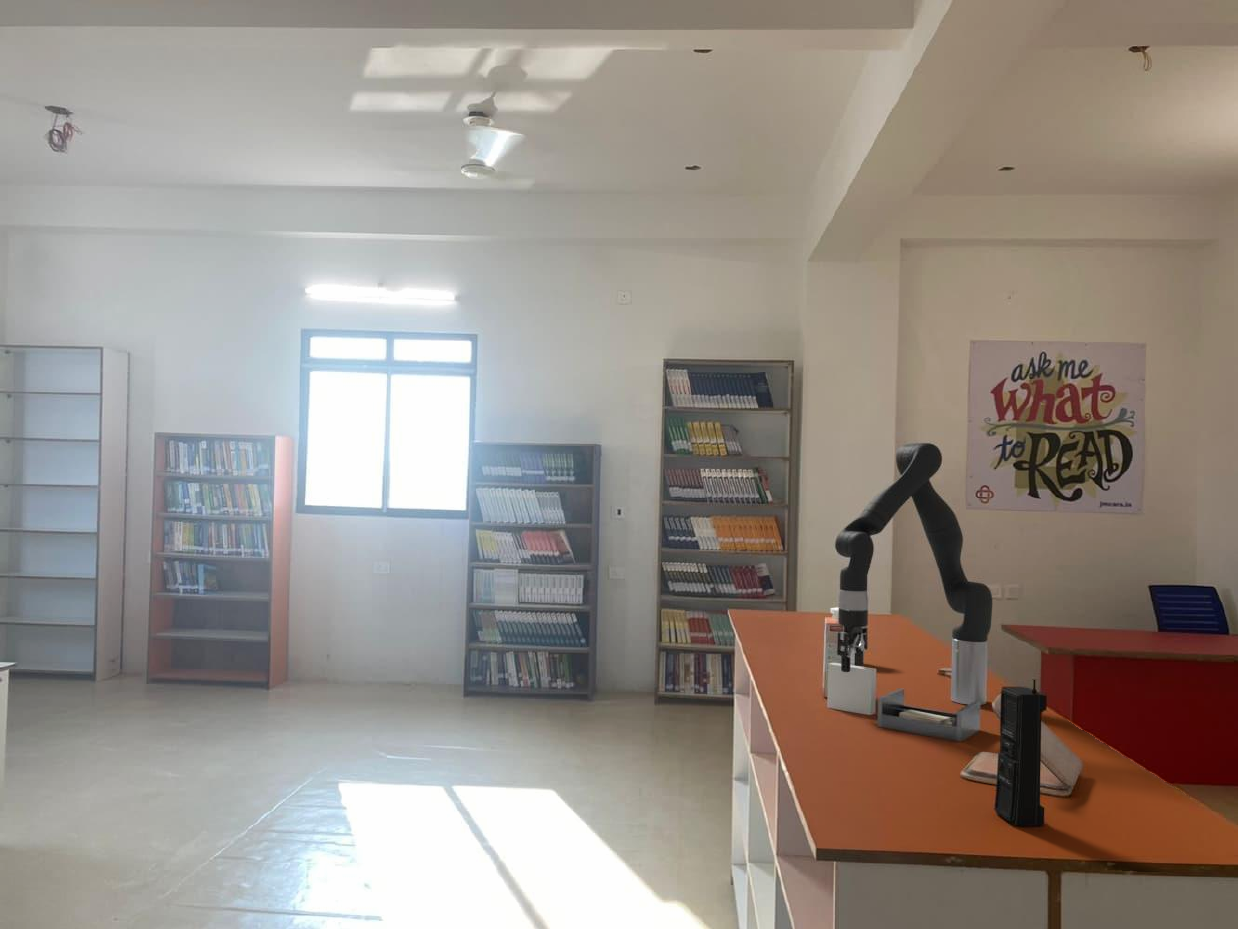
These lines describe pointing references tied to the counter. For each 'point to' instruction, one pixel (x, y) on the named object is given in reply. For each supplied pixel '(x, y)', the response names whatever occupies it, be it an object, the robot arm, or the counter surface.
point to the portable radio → (1020, 756)
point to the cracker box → (830, 648)
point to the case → (1055, 767)
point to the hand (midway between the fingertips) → (852, 669)
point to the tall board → (852, 689)
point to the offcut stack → (925, 717)
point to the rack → (961, 727)
